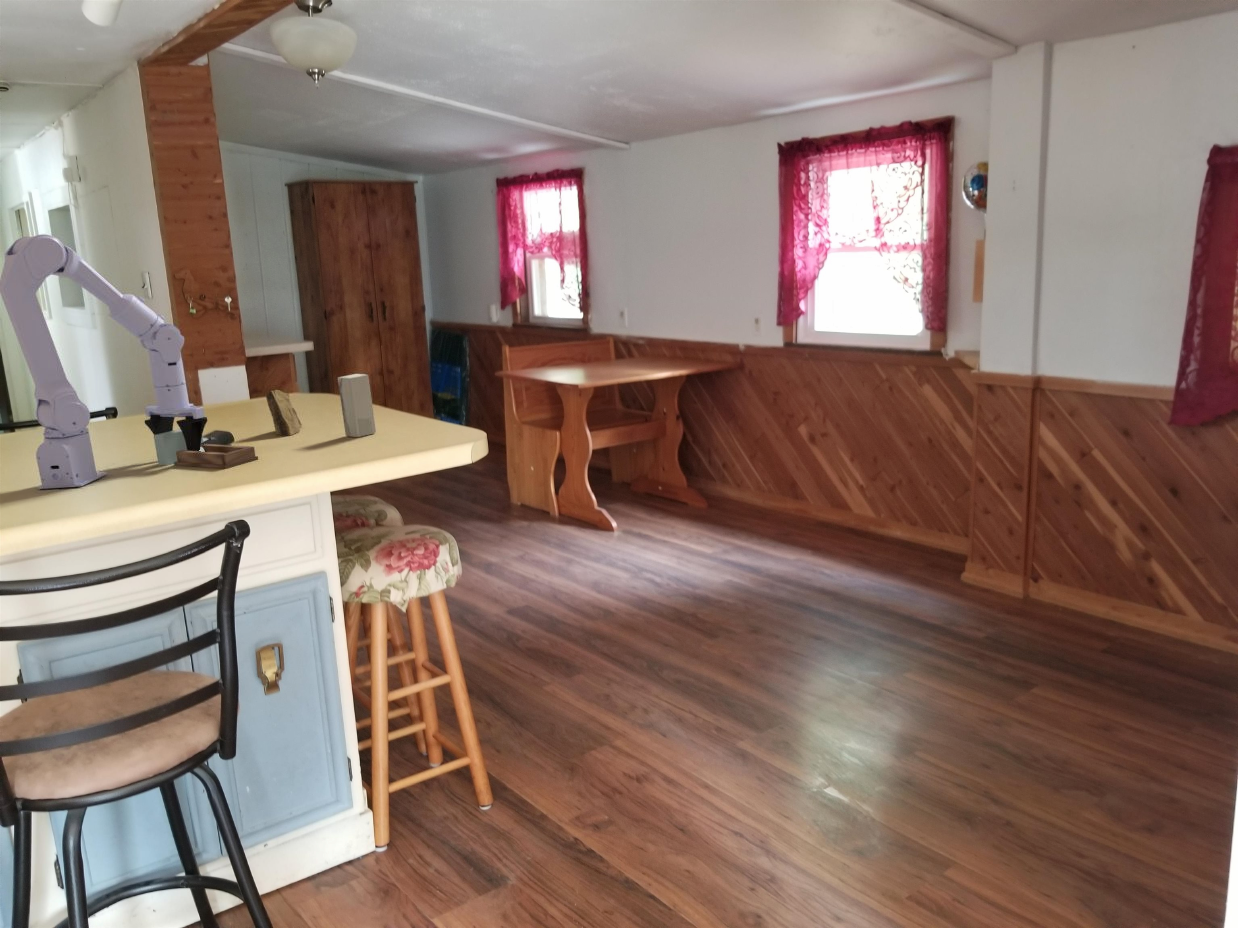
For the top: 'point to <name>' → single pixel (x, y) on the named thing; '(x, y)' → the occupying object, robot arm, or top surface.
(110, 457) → the top surface
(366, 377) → the box
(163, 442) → the pale teal block
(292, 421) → the rock
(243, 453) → the floor track
